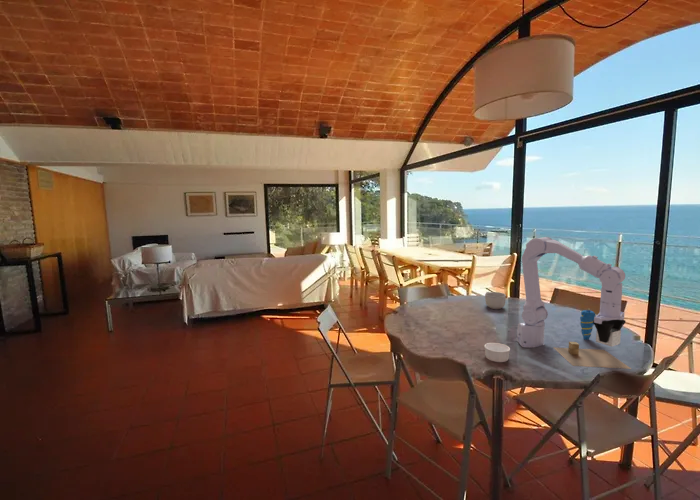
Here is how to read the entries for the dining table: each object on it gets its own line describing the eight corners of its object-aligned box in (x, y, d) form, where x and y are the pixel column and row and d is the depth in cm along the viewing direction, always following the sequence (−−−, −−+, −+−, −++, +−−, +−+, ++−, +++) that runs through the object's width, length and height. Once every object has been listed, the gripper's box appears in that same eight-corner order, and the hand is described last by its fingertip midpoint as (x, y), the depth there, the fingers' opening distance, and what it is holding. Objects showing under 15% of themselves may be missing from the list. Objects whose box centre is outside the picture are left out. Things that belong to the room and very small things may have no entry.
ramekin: (481, 359, 126) (481, 348, 125) (486, 351, 133) (487, 340, 133) (507, 365, 121) (508, 353, 120) (511, 356, 128) (511, 345, 128)
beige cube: (611, 346, 115) (612, 331, 114) (595, 341, 119) (596, 327, 119) (620, 344, 117) (621, 329, 116) (604, 339, 121) (605, 324, 121)
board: (572, 369, 116) (573, 354, 116) (552, 351, 132) (553, 337, 131) (631, 373, 113) (632, 357, 113) (604, 353, 129) (605, 339, 128)
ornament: (579, 339, 144) (581, 304, 142) (594, 342, 140) (596, 306, 139) (577, 343, 140) (580, 307, 138) (593, 345, 136) (595, 309, 135)
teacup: (508, 310, 187) (509, 296, 186) (489, 310, 187) (489, 296, 186) (498, 303, 201) (498, 290, 200) (479, 303, 201) (480, 290, 200)
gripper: (611, 308, 110) (608, 348, 111) (635, 302, 116) (632, 340, 118) (588, 302, 116) (586, 341, 118) (612, 297, 122) (609, 334, 124)
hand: (607, 340), depth 118 cm, fingers closed on beige cube, 5 cm apart
